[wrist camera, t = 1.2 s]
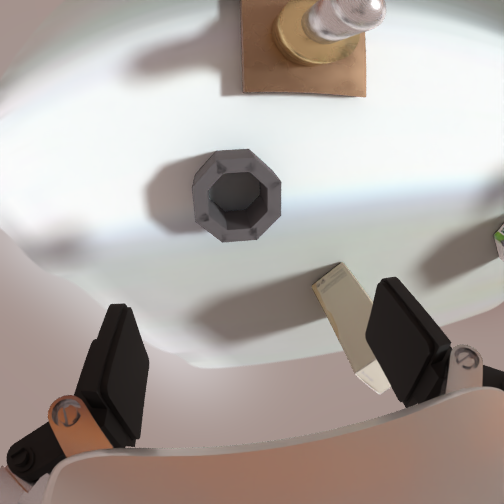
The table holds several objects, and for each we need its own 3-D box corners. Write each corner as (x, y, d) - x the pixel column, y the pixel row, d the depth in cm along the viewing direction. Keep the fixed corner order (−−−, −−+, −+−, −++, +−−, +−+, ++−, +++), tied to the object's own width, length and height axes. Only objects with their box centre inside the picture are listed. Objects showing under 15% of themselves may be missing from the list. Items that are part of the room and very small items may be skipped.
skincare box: (309, 284, 31) (350, 373, 21) (343, 259, 30) (398, 340, 20) (338, 315, 34) (378, 397, 24) (368, 292, 33) (418, 369, 22)
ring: (271, 147, 24) (281, 156, 21) (271, 218, 27) (280, 238, 24) (193, 152, 24) (189, 162, 20) (199, 224, 27) (198, 244, 23)
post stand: (354, -3, 18) (436, -44, 7) (358, 96, 23) (450, 107, 12) (239, -15, 17) (260, -89, 6) (242, 92, 22) (268, 85, 11)
